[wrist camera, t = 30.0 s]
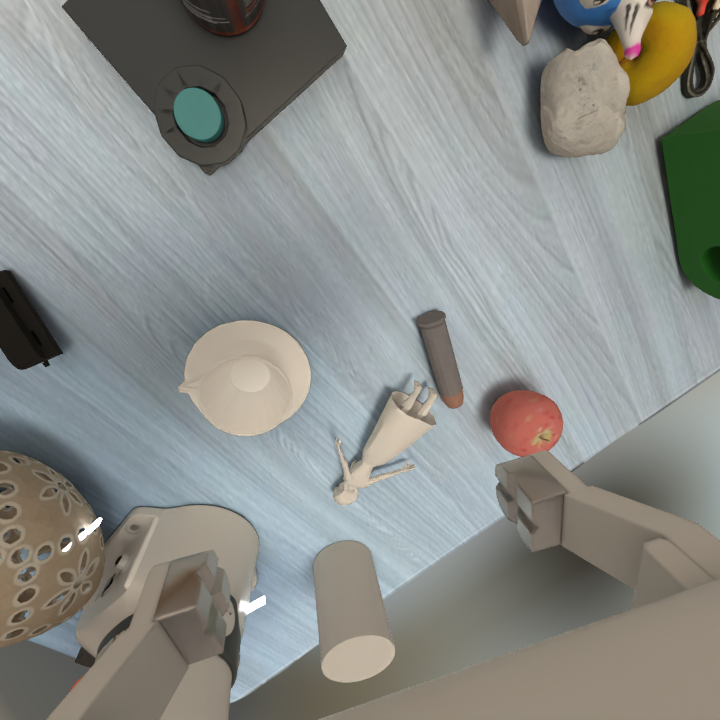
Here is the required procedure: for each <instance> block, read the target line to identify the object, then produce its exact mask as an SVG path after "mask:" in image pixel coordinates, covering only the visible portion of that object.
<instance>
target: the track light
mask: <svg viewBox="0 0 720 720" xmlns="http://www.w3.org/2000/svg"><path fill="white" fill-rule="evenodd" d="M0 348H1V350H2V351H3V353H4V354H5V356H6V357H7V359H8V360H9V361H10V362H11V364H12V365H13V366H15V367H16V368H17V369H20V370H24V369H27V368H30V367H32V366H35V365H37V364H39V363H42V362H44V363H42V364H43V365H44V366H45V367H47V366H50V364H49V362H48V360H49V359H51V358H54V357H56V356H58V355H61V354H63V352H62V351H61V349H60V348H59V346H58V344H57V343H56V341H55V340H54V338H53V337H52V335H51V334H50V332H49V330H48V329H47V327H46V326H45V324H44V323H43V321H42V320H41V318H40V316H39V315H38V313H37V312H36V310H35V309H34V307H33V306H32V304H31V302H30V301H29V299H28V298H27V296H26V295H25V293H24V292H23V290H22V288H21V287H20V285H19V284H18V282H17V281H16V279H15V278H14V276H13V274H12V273H11V272H10V271H7V270H3V271H0Z"/></svg>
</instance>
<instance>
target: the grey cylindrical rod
mask: <svg viewBox="0 0 720 720" xmlns="http://www.w3.org/2000/svg"><path fill="white" fill-rule="evenodd" d="M445 318H446V315H445V313H444V312H442V311H431V312H428V313H425V314H423V315H421V316H420V317H419V318H418V319H417V325H418V326H419V327H420V331H421V334H422V337H423V341H424V344H425V347H426V351H427V354H428V357H429V360H430V364H431V367H432V370H433V374H434V377H435V380H436V384H437V387H438V390H439V393H440V395H441V397H442V399H443V401H444V403H445V404H446V405H447V406H448V407H449V408H453V409H454V408H458V407H460V406H461V405H462V403H463V398H464V397H463V387H462V383H461V379H460V375H459V371H458V368H457V364H456V360H455V356H454V352H453V349H452V345H451V341H450V337H449V334H448V330H447V326H446V322H445Z"/></svg>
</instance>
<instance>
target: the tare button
mask: <svg viewBox="0 0 720 720" xmlns="http://www.w3.org/2000/svg"><path fill="white" fill-rule="evenodd" d="M173 110H174V116H175V120H176V122H177V124H178V126H179V127H180V128H181V130H182V131H183V132H184V133H185V134H187V135H188V136H189V137H191V138H193V139H194V140H196V141H199V142H204V143H208V142H212V141H214V140H216V139H217V138H218V137H219V136H220V135H221V133H222V131H223V128H224V117H223V113H222V110H221V108H220V107H219V105H218V104H217V102H216V101H215V99H214V98H213V97H212V96H211V95H210V94H209V93H207V92H206V91H204V90H202V89H199V88H194V87H191V88H186V89H184V90H182V91H181V92H180V93H179V94H178V95H177V97H176V99H175V101H174V107H173Z"/></svg>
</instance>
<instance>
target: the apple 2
mask: <svg viewBox="0 0 720 720" xmlns="http://www.w3.org/2000/svg"><path fill="white" fill-rule="evenodd" d="M651 7H652V8H653V13H652V16H651V18H650V20H649V22H648V24H647V26H646V28H645V30H644V32H643V35H642V38H641V51H640V53H639V55H638V56H637V57H635V58H634V59H632V60H629V59H626V58H625V56H624V51H625V50H624V48H623V45H622V44H621V41H620V38H619V36H618V34H617V32H616V30H615V29H614V30H613V31H612V33H611V34H610V35H609V37H608V39H607V40H606V41H607V43H608V44H609V45H610V46H611V48H612V50H613V52H614V53H615V54H616V56H617V59H618V62H619V64H620V66H621V68H622V69H623V70H624V71H625V72H626V73H627V75H628V77H629V83H630V92H629V96H628V98H627V103H626V105H629V106H634V105H638V104H640V103H643V102H645V101H647V100H649V99H651V98H653V97H655V96H657V95H659V94H660V93H662V92H663V91H664V90H665V89H667V88H668V87H669V86H670V85H671V84H672V83H673V82H675V81H676V79H677V78H679V77H680V75H681V74H682V73H683V72H684V70H685V69H686V68H687V66H688V65H689V63H690V61H691V59H692V56H693V54H694V50H695V47H696V42H697V29H696V20H695V17H694V14H693V13H692V11H691V10H690V9H689V8H688V7H686V6H683V5H681V4H677V3H673V2H666V1H663V2H658V3H654V4H653V5H652V6H651Z"/></svg>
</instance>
